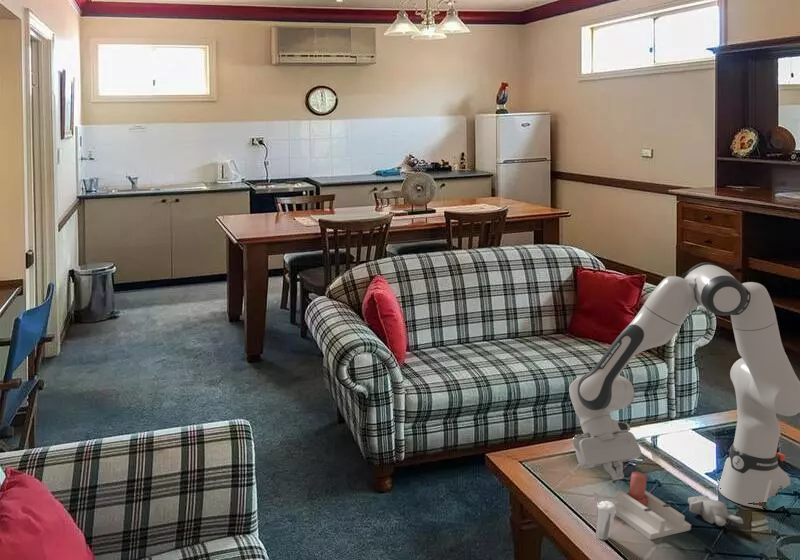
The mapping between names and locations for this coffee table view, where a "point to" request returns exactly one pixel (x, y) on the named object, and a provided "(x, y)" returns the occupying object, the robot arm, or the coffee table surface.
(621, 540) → the coffee table surface
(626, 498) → the white slider track base
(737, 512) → the coffee table surface
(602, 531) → the milkshake
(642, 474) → the red plug
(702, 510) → the bunny figurine
